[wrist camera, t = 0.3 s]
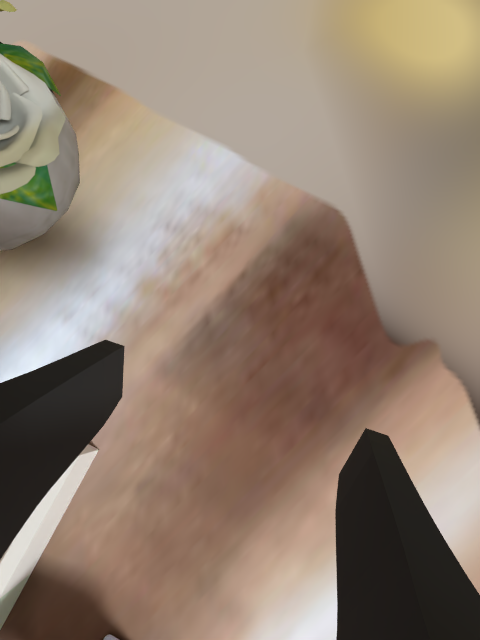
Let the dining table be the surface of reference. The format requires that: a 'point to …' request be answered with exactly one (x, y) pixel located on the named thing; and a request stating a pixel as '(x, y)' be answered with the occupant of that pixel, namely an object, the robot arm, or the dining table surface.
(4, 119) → the flower arrangement
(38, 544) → the tray
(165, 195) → the dining table surface
